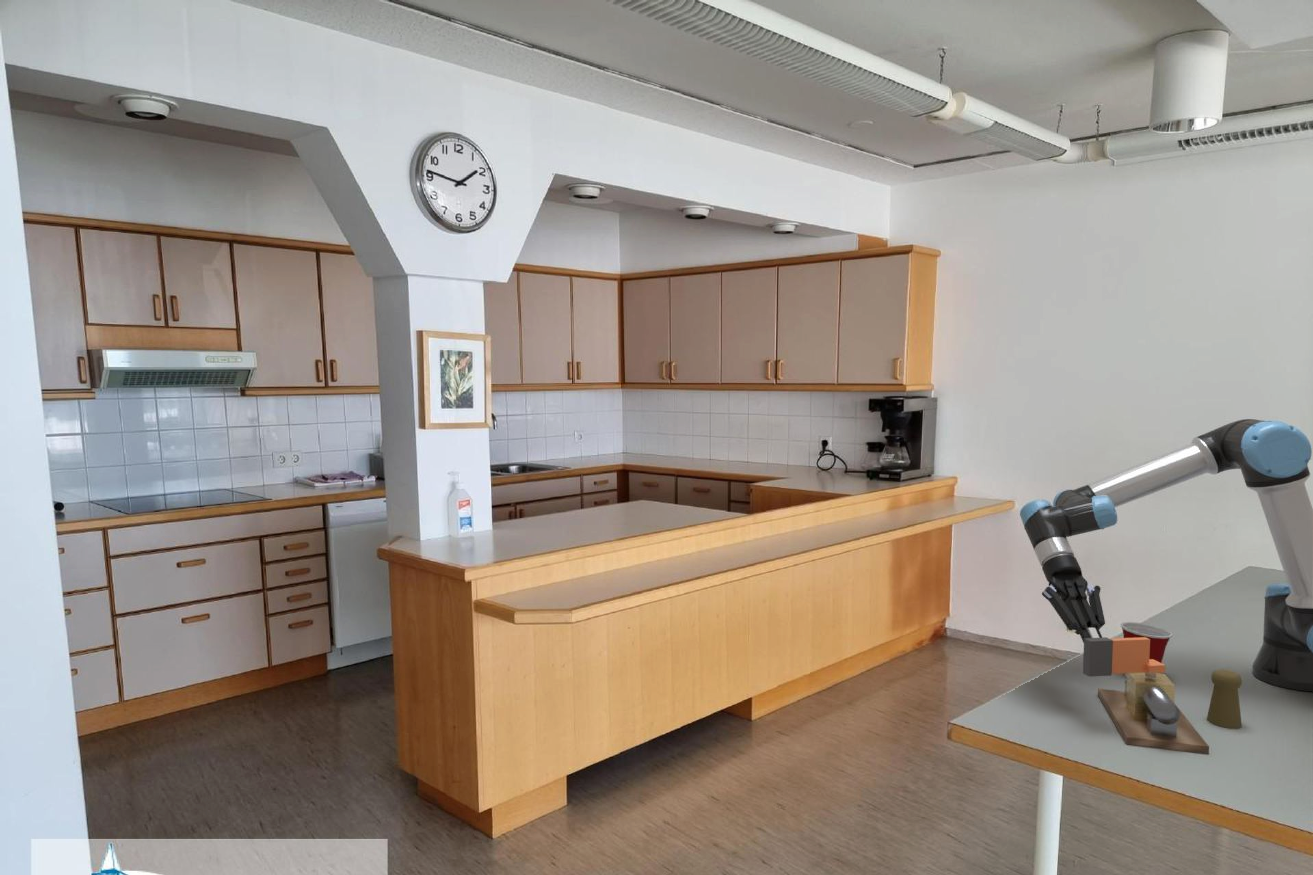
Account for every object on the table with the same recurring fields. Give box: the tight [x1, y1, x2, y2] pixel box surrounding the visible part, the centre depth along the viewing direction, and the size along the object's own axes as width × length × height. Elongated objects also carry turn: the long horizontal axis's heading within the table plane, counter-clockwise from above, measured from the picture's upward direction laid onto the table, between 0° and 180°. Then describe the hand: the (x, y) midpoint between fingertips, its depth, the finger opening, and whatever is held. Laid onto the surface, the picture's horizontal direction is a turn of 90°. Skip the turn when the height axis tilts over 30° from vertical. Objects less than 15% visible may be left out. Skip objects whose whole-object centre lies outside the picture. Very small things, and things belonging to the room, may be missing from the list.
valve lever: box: [1082, 636, 1166, 678], centre depth 168 cm, size 16×4×8 cm, turn 96°
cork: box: [1206, 668, 1243, 730], centre depth 169 cm, size 6×6×11 cm
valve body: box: [1124, 673, 1180, 738], centre depth 170 cm, size 7×24×8 cm, turn 162°
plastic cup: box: [1120, 621, 1173, 664], centre depth 196 cm, size 11×11×12 cm
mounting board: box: [1097, 688, 1210, 755], centre depth 170 cm, size 14×26×2 cm, turn 162°
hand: (1101, 658), depth 170 cm, fingers closed
